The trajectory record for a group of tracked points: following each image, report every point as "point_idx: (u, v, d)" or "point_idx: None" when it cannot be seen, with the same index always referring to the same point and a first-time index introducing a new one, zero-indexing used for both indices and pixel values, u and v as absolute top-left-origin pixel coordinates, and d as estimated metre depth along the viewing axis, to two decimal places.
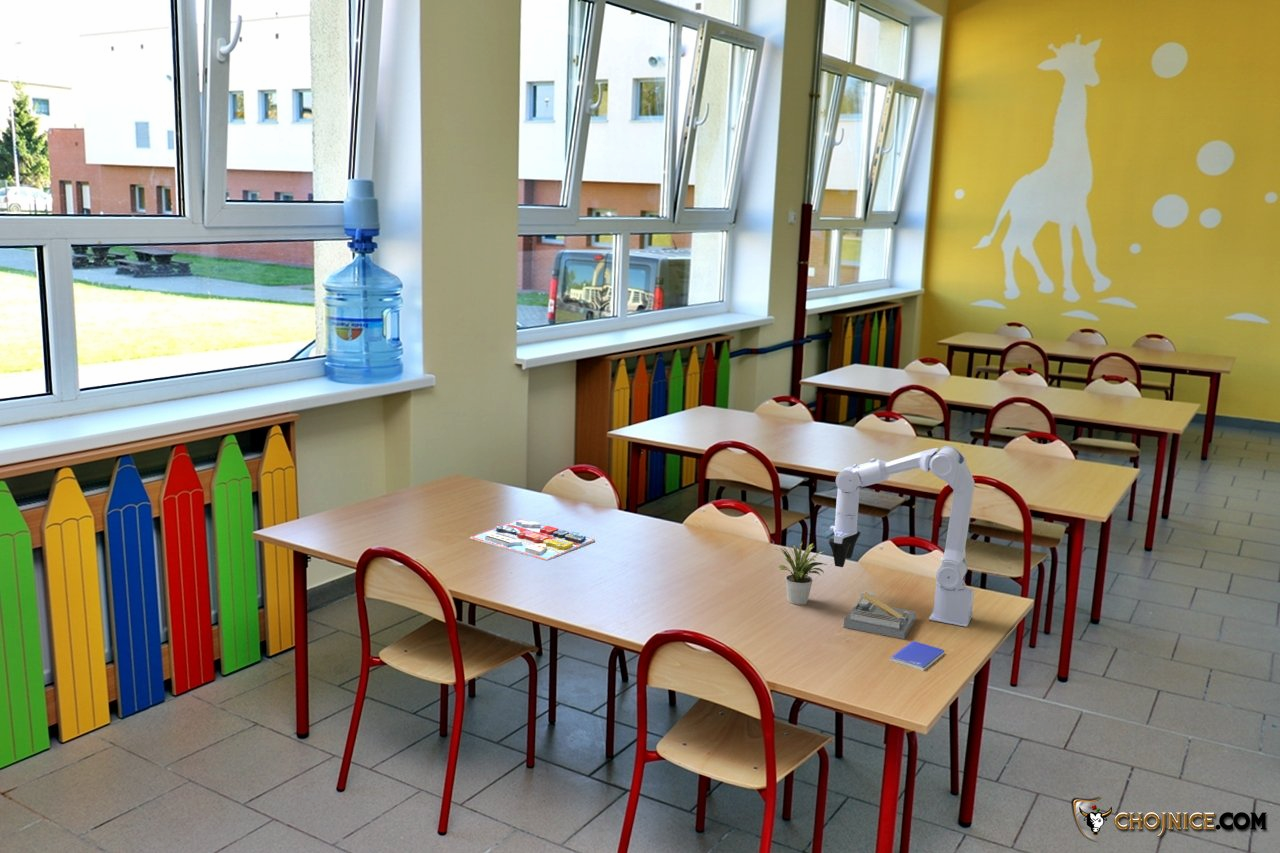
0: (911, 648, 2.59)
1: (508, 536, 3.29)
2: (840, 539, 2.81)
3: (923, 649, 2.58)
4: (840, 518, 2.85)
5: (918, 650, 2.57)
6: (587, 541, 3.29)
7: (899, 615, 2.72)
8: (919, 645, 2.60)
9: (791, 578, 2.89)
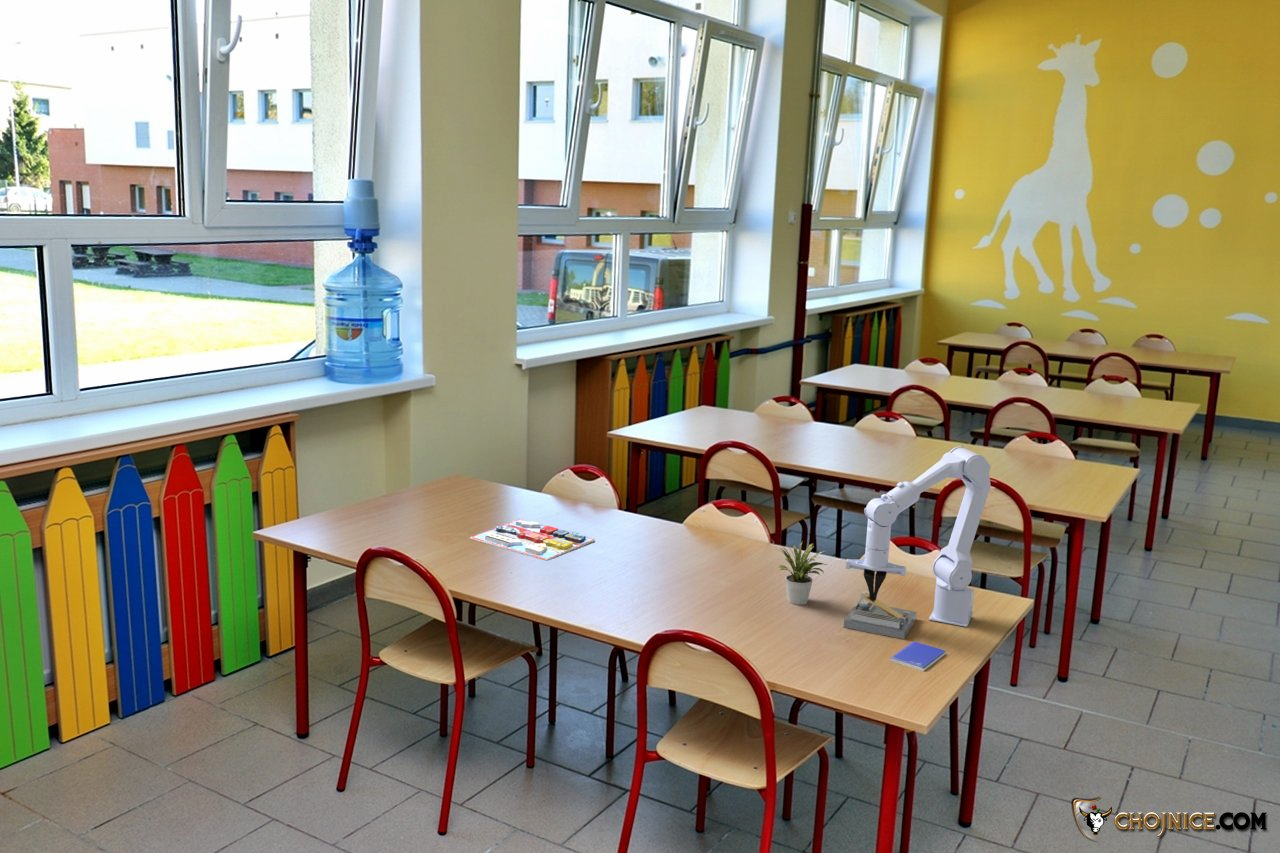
0: (912, 648, 2.58)
1: (508, 535, 3.29)
2: (846, 563, 2.74)
3: (924, 649, 2.58)
4: None
5: (919, 651, 2.57)
6: (587, 541, 3.29)
7: (899, 615, 2.72)
8: (920, 645, 2.60)
9: (791, 578, 2.89)
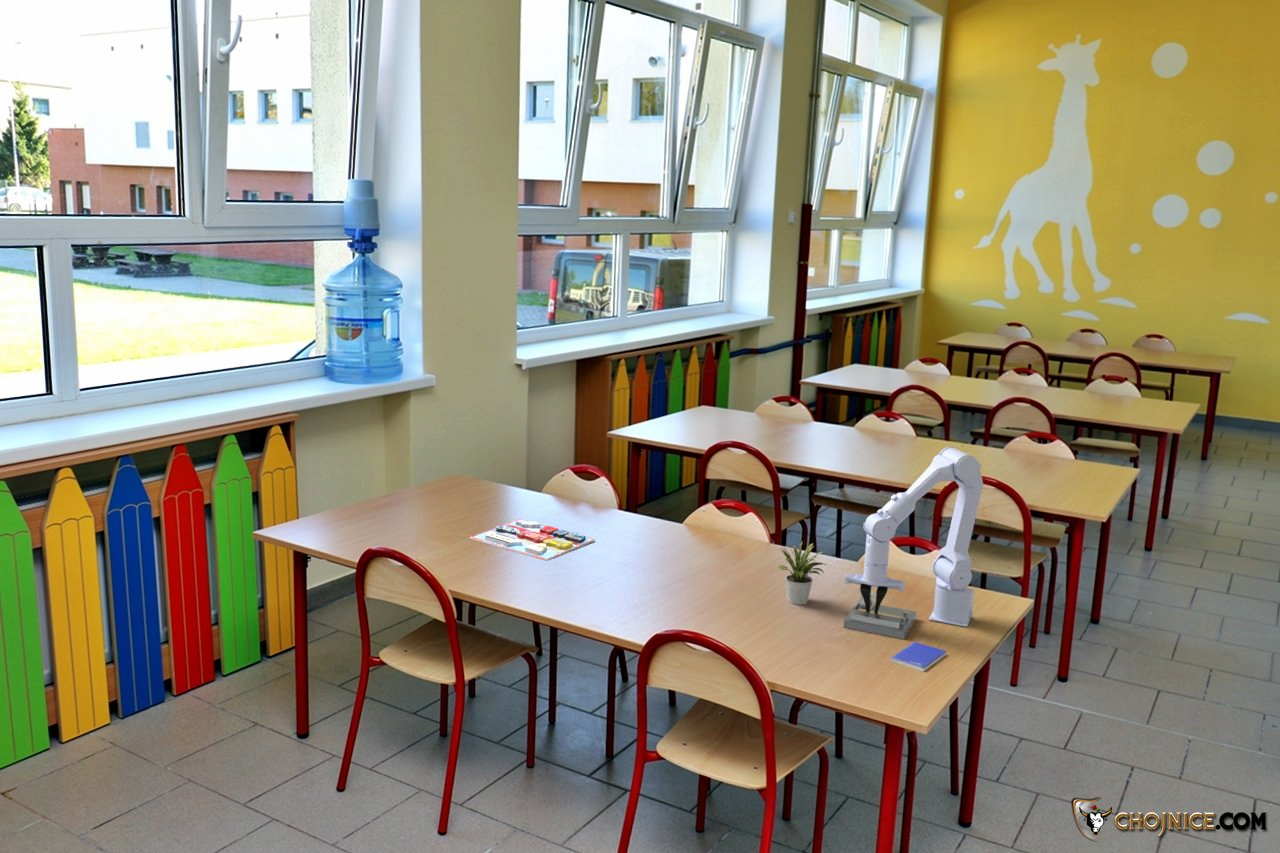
0: (912, 648, 2.58)
1: (508, 535, 3.29)
2: None
3: (924, 650, 2.58)
4: None
5: (919, 651, 2.57)
6: (587, 541, 3.29)
7: (898, 617, 2.73)
8: (921, 646, 2.60)
9: (791, 578, 2.89)
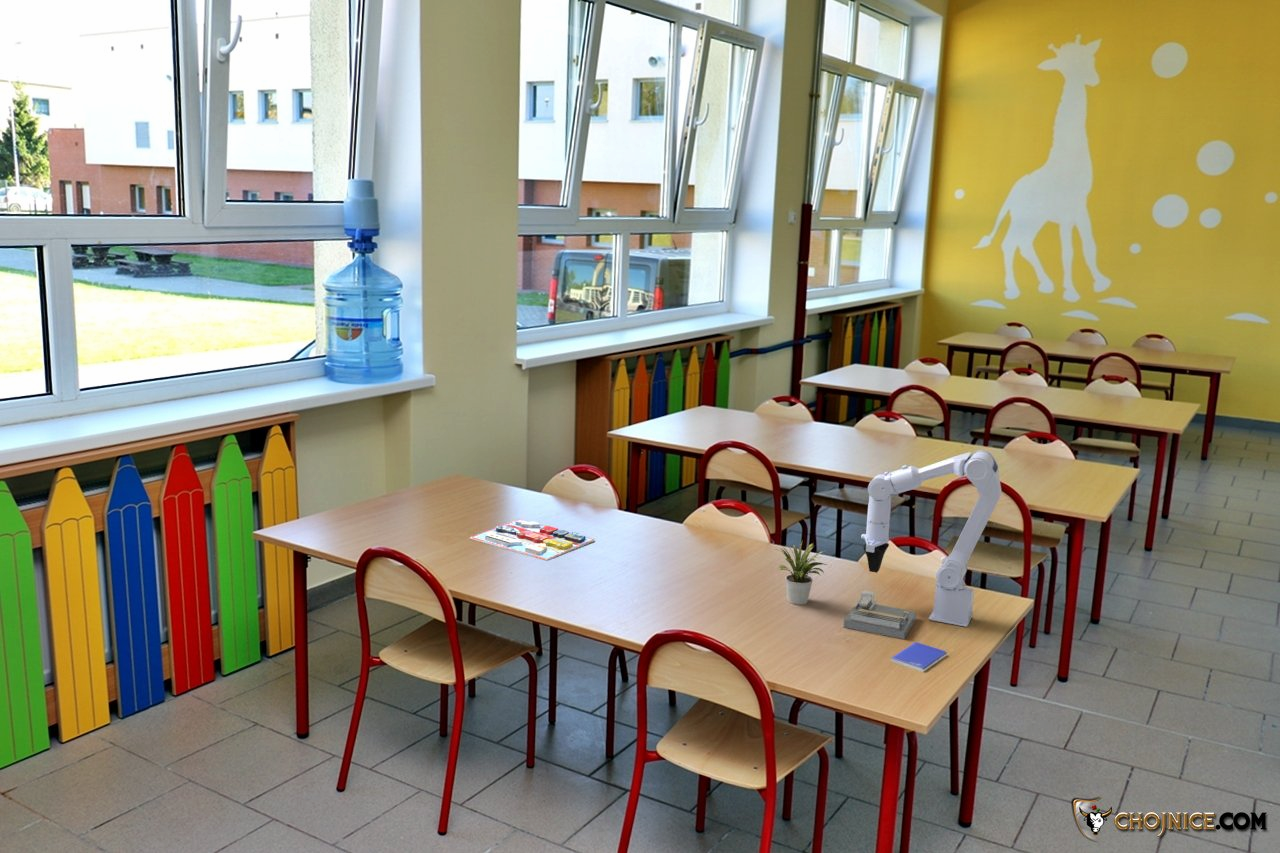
0: (913, 649, 2.58)
1: (508, 536, 3.29)
2: (872, 548, 2.77)
3: (925, 650, 2.57)
4: (872, 526, 2.81)
5: (920, 651, 2.57)
6: (587, 541, 3.29)
7: (898, 617, 2.73)
8: (921, 646, 2.60)
9: (791, 578, 2.89)
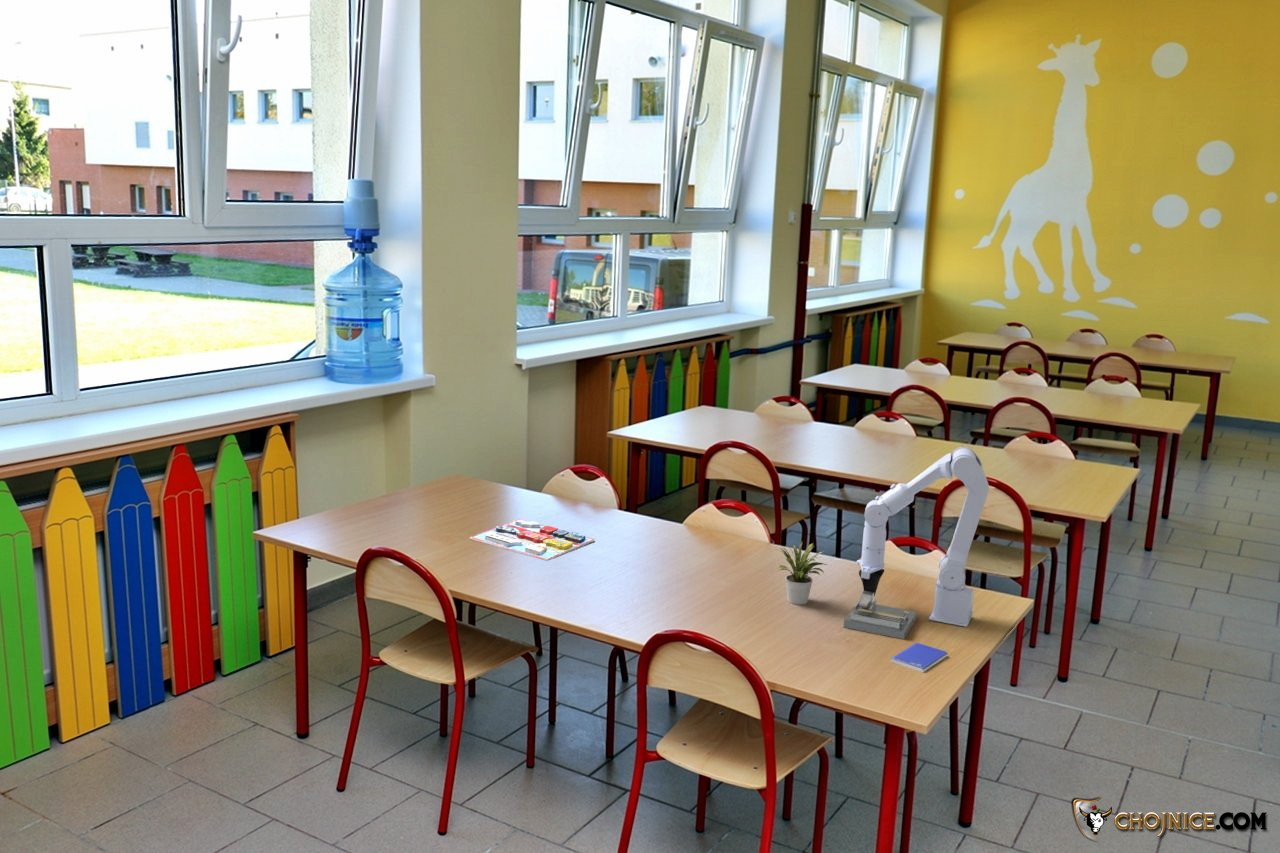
0: (914, 649, 2.58)
1: (508, 536, 3.29)
2: (867, 574, 2.76)
3: (925, 650, 2.57)
4: (867, 552, 2.80)
5: (920, 652, 2.56)
6: (587, 541, 3.29)
7: (898, 617, 2.73)
8: (922, 647, 2.59)
9: (791, 578, 2.89)
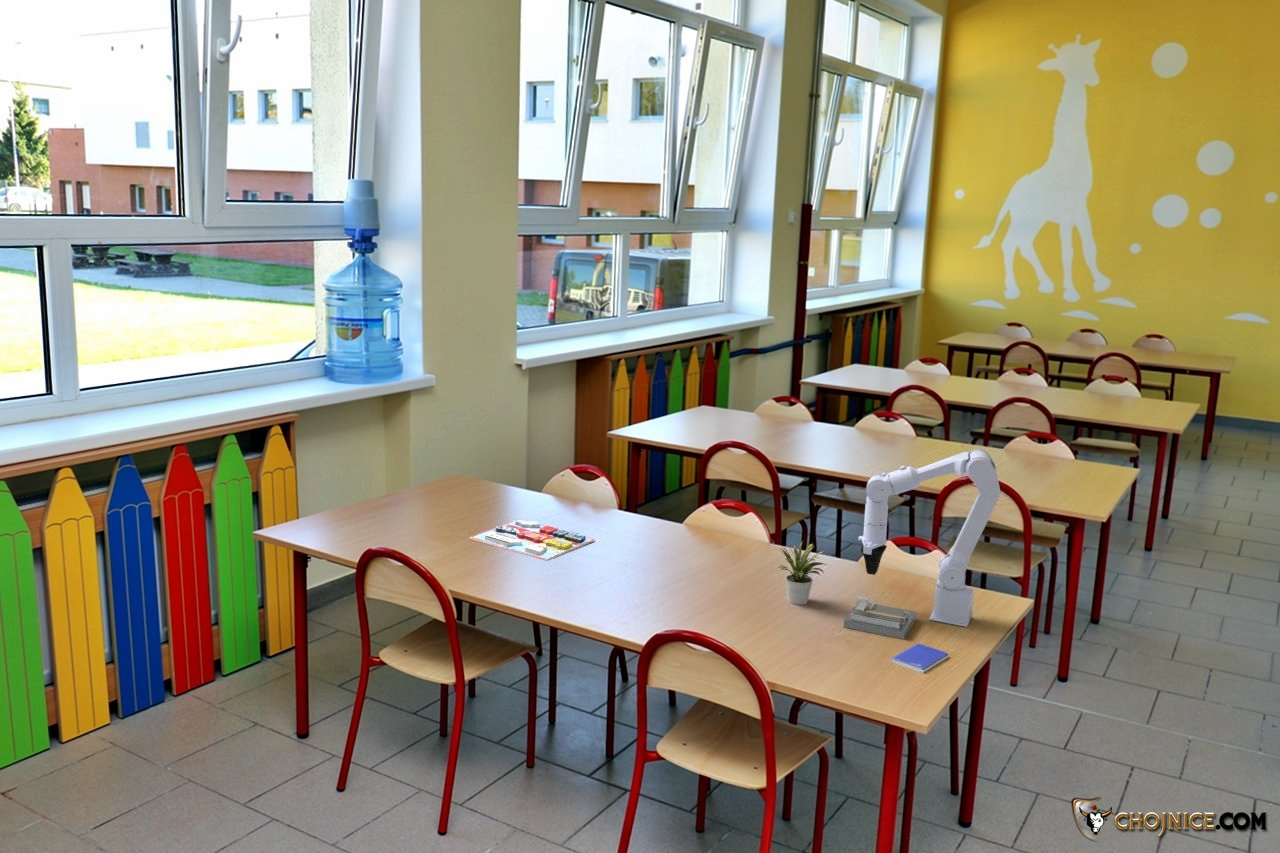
0: (915, 650, 2.57)
1: (508, 536, 3.29)
2: (869, 550, 2.74)
3: (926, 651, 2.57)
4: (869, 528, 2.78)
5: (921, 652, 2.56)
6: (587, 541, 3.29)
7: (898, 617, 2.73)
8: (923, 647, 2.59)
9: (791, 578, 2.89)
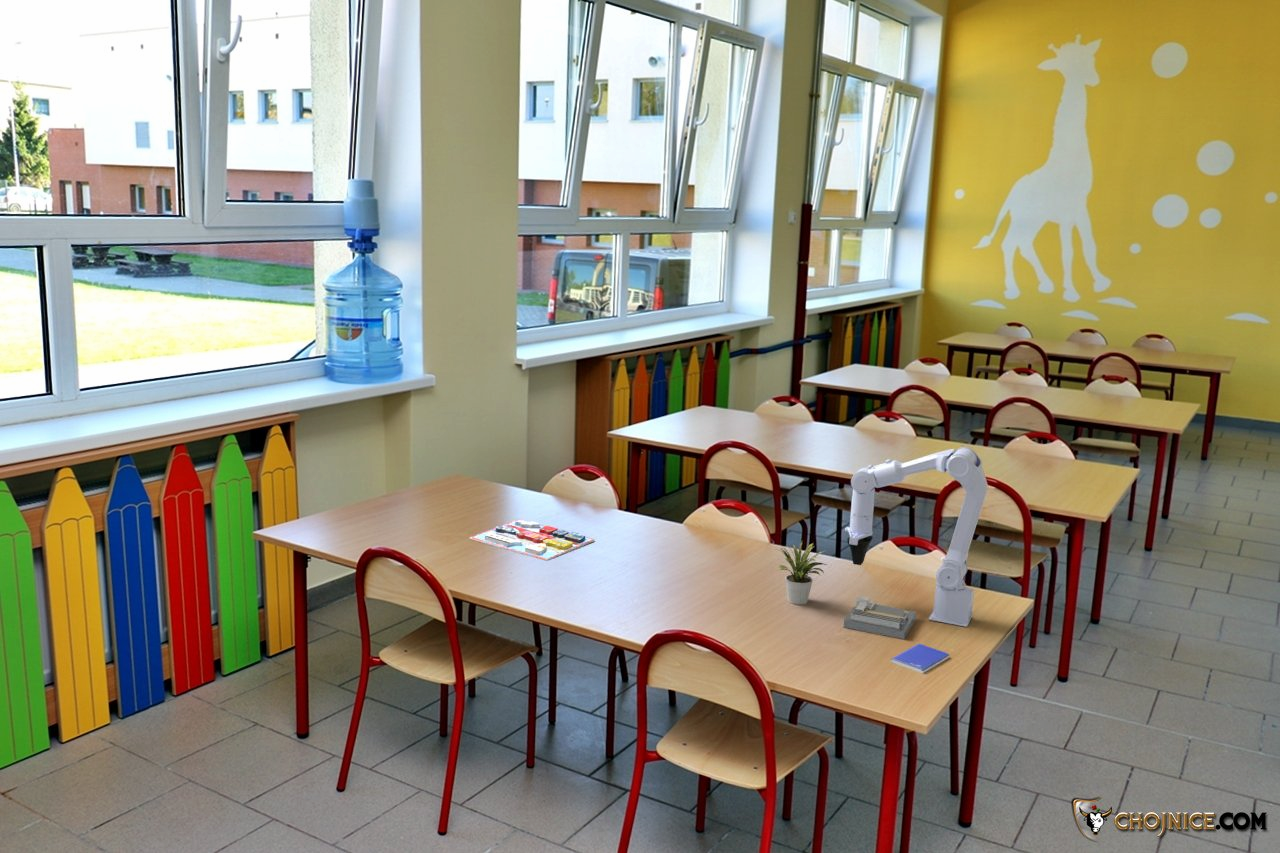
0: (915, 650, 2.57)
1: (507, 536, 3.29)
2: (855, 540, 2.79)
3: (927, 652, 2.57)
4: (855, 519, 2.83)
5: (922, 653, 2.56)
6: (587, 541, 3.29)
7: (898, 617, 2.73)
8: (924, 648, 2.59)
9: (791, 578, 2.89)
